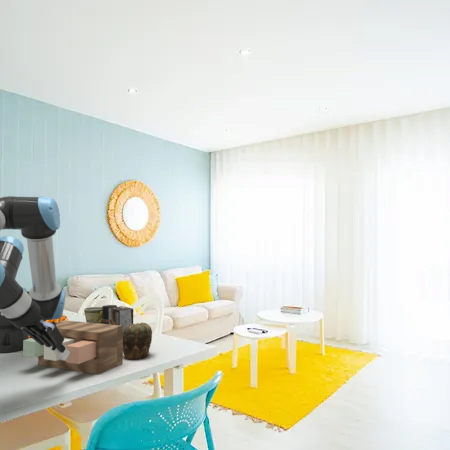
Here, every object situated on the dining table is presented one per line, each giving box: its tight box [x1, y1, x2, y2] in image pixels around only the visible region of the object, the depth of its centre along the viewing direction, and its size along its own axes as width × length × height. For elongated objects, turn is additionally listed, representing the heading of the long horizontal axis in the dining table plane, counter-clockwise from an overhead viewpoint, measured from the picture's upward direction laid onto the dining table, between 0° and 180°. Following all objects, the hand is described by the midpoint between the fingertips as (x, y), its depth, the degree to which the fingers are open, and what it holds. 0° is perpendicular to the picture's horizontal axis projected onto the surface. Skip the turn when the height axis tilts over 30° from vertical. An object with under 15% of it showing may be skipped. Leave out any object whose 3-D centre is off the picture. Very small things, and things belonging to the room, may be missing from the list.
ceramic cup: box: [83, 306, 102, 324], centre depth 196 cm, size 13×10×10 cm
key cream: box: [44, 337, 75, 361], centre depth 130 cm, size 5×9×5 cm, turn 157°
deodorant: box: [101, 304, 118, 324], centre depth 171 cm, size 6×6×15 cm
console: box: [37, 319, 124, 375], centre depth 138 cm, size 26×12×13 cm, turn 67°
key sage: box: [22, 337, 44, 359], centre depth 134 cm, size 5×9×5 cm, turn 157°
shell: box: [123, 322, 153, 361], centre depth 148 cm, size 11×11×12 cm
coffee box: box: [109, 305, 134, 333], centre depth 159 cm, size 9×6×16 cm
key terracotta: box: [66, 339, 97, 364], centre depth 127 cm, size 5×9×5 cm, turn 157°
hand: (66, 356), depth 120 cm, fingers closed
